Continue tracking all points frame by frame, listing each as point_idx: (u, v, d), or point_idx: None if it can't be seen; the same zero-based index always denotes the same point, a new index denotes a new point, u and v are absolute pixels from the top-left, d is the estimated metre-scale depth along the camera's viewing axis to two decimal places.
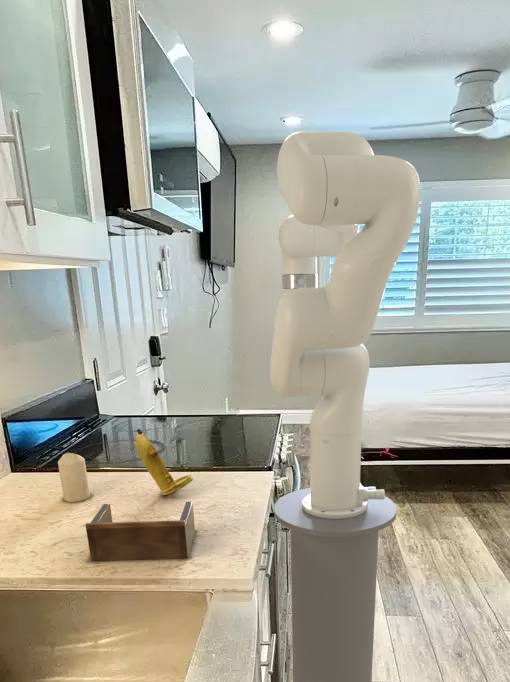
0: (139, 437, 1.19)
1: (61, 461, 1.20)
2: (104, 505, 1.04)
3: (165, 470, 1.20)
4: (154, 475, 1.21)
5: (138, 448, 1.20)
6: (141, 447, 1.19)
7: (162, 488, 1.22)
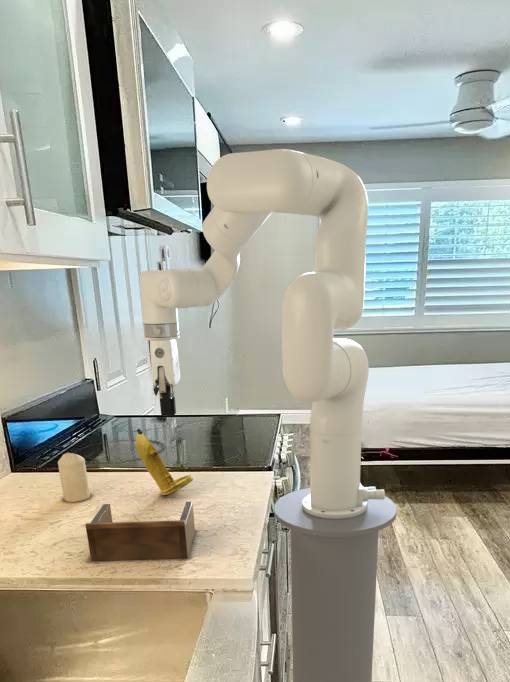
0: (139, 437, 1.19)
1: (61, 461, 1.20)
2: (104, 505, 1.04)
3: (165, 470, 1.20)
4: (154, 475, 1.21)
5: (138, 448, 1.20)
6: (141, 447, 1.19)
7: (162, 488, 1.22)
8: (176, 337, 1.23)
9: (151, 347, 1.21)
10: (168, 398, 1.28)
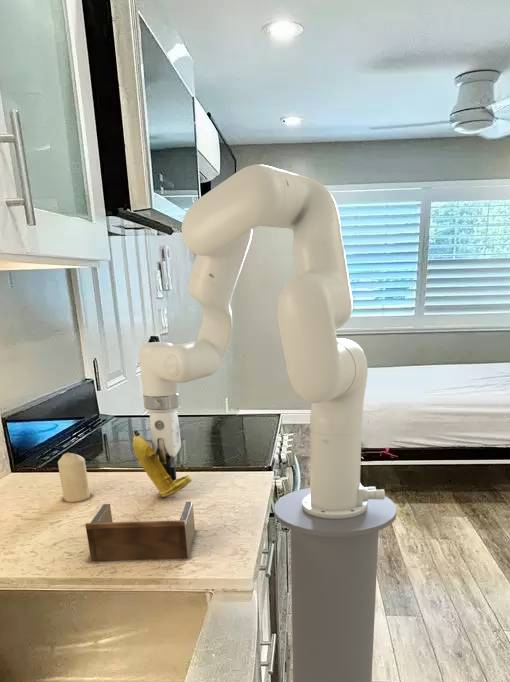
0: (136, 439, 1.18)
1: (61, 461, 1.20)
2: (104, 505, 1.04)
3: (164, 471, 1.19)
4: (153, 477, 1.20)
5: (136, 450, 1.18)
6: (139, 449, 1.18)
7: (161, 490, 1.21)
8: (176, 408, 1.21)
9: (151, 419, 1.19)
10: (168, 467, 1.26)
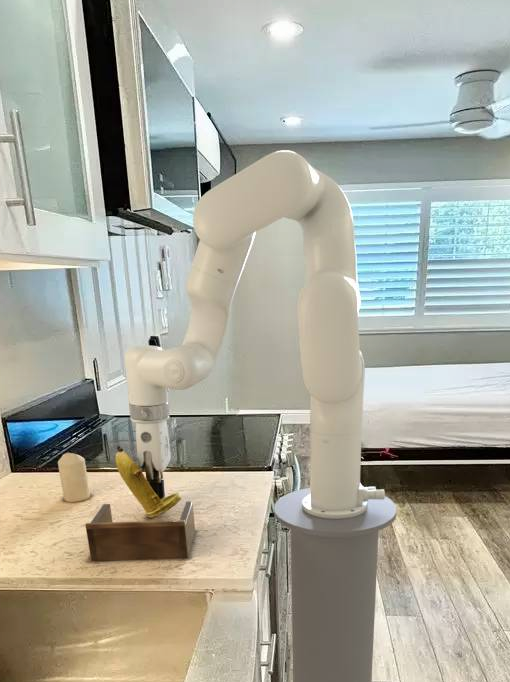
0: (120, 455, 1.07)
1: (61, 461, 1.20)
2: (104, 505, 1.04)
3: (151, 490, 1.08)
4: (139, 496, 1.09)
5: (119, 467, 1.08)
6: (123, 466, 1.07)
7: (148, 510, 1.11)
8: (165, 419, 1.10)
9: (137, 431, 1.08)
10: (156, 483, 1.15)
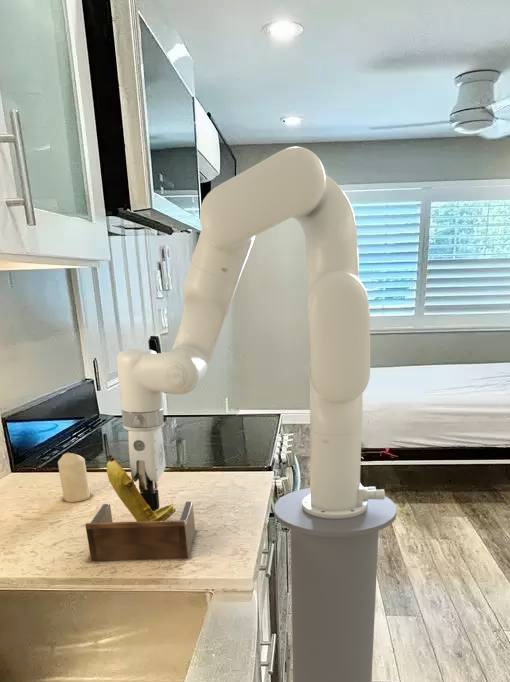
0: (111, 465, 1.02)
1: (61, 461, 1.20)
2: (104, 505, 1.04)
3: (143, 502, 1.03)
4: (130, 508, 1.04)
5: (110, 478, 1.02)
6: (113, 476, 1.01)
7: None
8: (160, 426, 1.05)
9: (129, 439, 1.03)
10: (150, 493, 1.10)
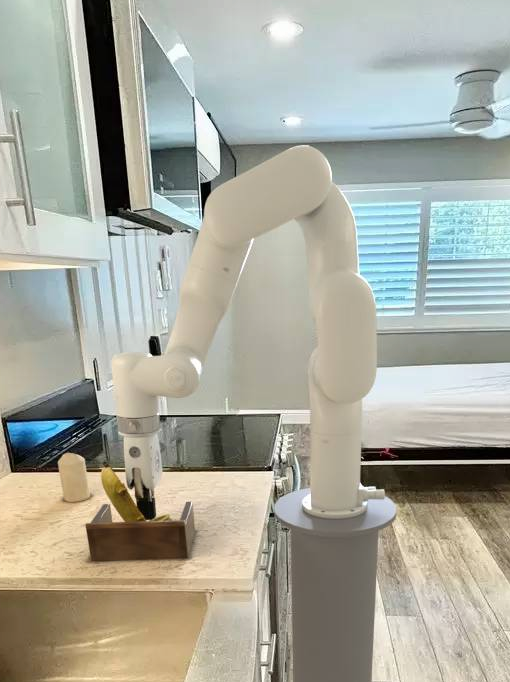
0: (105, 471, 0.98)
1: (61, 461, 1.20)
2: (104, 505, 1.04)
3: (136, 511, 0.99)
4: (124, 517, 1.00)
5: (104, 485, 0.99)
6: (107, 483, 0.98)
7: None
8: (156, 432, 1.01)
9: (125, 445, 0.99)
10: (146, 501, 1.06)
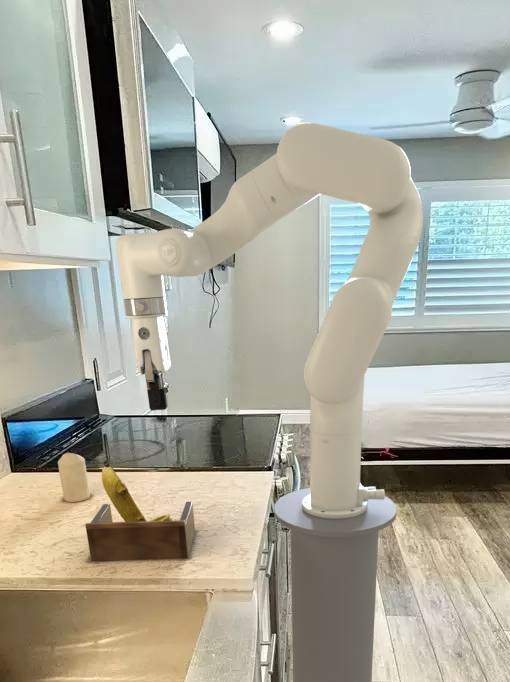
0: (105, 471, 0.98)
1: (61, 461, 1.20)
2: (104, 505, 1.04)
3: (137, 511, 0.99)
4: (124, 516, 1.00)
5: (104, 484, 0.99)
6: (107, 483, 0.98)
7: None
8: (163, 314, 1.03)
9: (134, 327, 1.01)
10: (157, 389, 1.07)
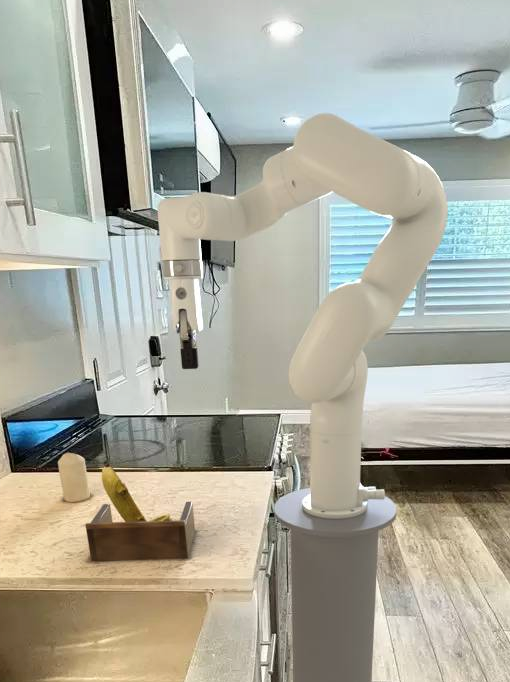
0: (105, 471, 0.98)
1: (61, 461, 1.20)
2: (104, 505, 1.04)
3: (137, 511, 0.99)
4: (124, 516, 1.00)
5: (104, 484, 0.99)
6: (107, 483, 0.98)
7: None
8: (199, 276, 1.08)
9: (171, 287, 1.07)
10: (190, 348, 1.13)
